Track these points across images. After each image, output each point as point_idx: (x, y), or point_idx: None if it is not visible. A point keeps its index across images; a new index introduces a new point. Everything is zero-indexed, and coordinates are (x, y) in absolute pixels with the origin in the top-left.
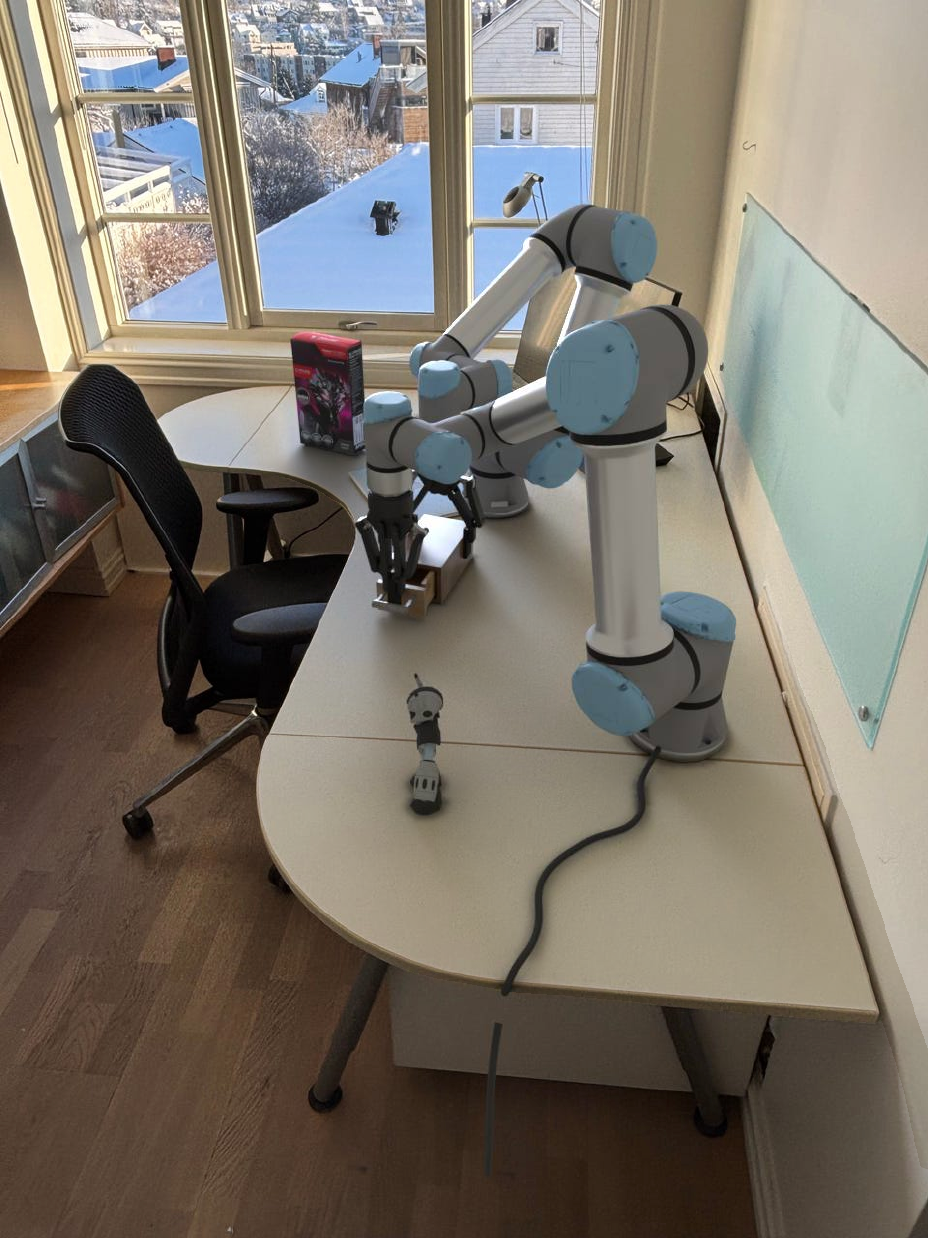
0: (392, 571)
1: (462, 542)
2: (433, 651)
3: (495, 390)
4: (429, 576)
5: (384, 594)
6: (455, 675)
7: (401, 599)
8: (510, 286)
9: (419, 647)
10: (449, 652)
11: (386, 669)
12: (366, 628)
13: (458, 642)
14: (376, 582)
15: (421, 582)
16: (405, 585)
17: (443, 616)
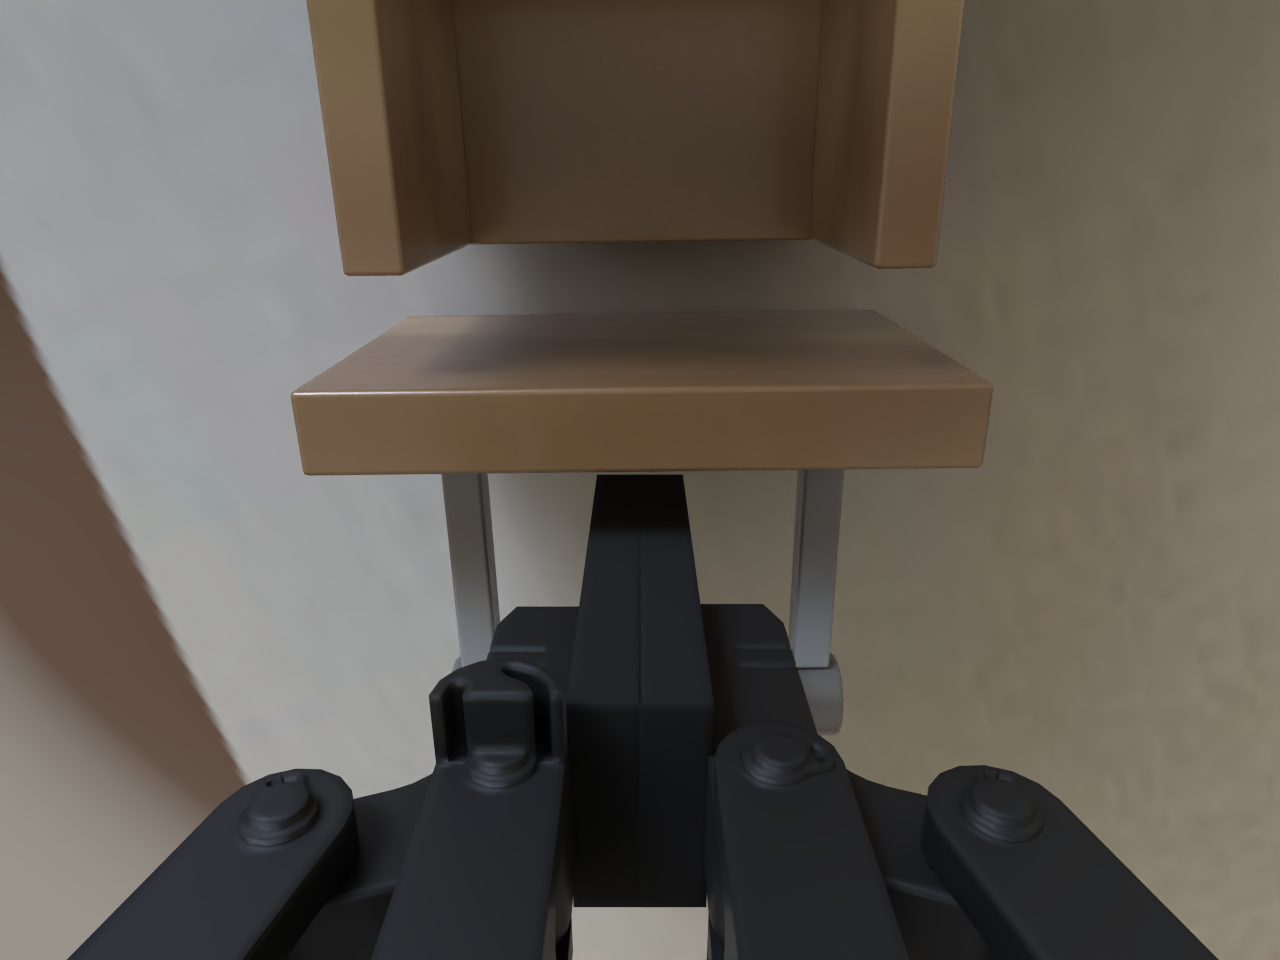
0: (345, 87)
1: None
2: (1020, 661)
3: None
4: (946, 19)
5: (488, 531)
6: (1213, 826)
7: (684, 493)
8: None
9: (910, 651)
10: (1137, 637)
11: None
12: (446, 572)
13: (1188, 508)
14: (309, 474)
15: None
16: (791, 653)
17: (994, 192)
